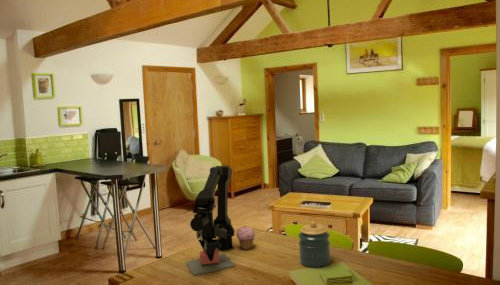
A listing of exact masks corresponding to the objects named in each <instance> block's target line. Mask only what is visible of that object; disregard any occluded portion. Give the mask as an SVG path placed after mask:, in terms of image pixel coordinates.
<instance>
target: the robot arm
mask: <svg viewBox="0 0 500 285" xmlns="http://www.w3.org/2000/svg"><path fill="white" fill-rule="evenodd" d="M232 174H233V168H232V167H230V165H216V166H212V167H210V168H209V174H208V177H207V179H206V182H205V184H204V187H203V189H202V190H200V191H199V192H198V193H197V196H196V197H195V200H194V205H193V208H192V209H193V210H192V213H193V214H194V215H193V218H192V219H191V221H190V223H189V225H190V229H192V230H193V231H194V232H196V234H195V235H196V238H197V240H198V243H199V244H200V246H201V248H202V251H206V254H207V256H208V258H209V260H210V261H213V256H214V252H215V249H218V250H220V251H222V252H223V251H227V250H228V251H229V250H231V249H235V248H234V245H233V237H235V229H234V227H233V224H232V221H231V219H230V217H229V215H228V199H229V197H228V190H229V189H228V188H229V187H228V185H229V183H230V181H231V179H232ZM216 189H217V215H216V217H215V218H214V214H213V211H214V207H215V205H216V204H215V203H216V197H215V191H216Z"/></svg>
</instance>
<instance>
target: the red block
mask: <svg viewBox="0 0 500 285" xmlns="http://www.w3.org/2000/svg"><path fill="white" fill-rule="evenodd" d="M219 255H220V252H219V248H218V249H215V252H214V256H213V261H210V260H209V258H208V256H207V254H206V251H204V250H202V251H199V259H200V262H201V265H203V264H211V263H218V262H220V260H219Z"/></svg>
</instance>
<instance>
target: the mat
mask: <svg viewBox="0 0 500 285" xmlns="http://www.w3.org/2000/svg"><path fill="white" fill-rule="evenodd" d="M219 260H220V262H218V263H211V264H203V265H201V262H200V258H198V259H193V260H188V261H185V265H186V266H187V268H188V269H189V271H190V273H191V275H192V276H193V277H195V276H200V275H204V274H208V273H213V272H218V271H223V270H226V269H231V268H235V267H236V264H235V263H234V262H233V261H232V260H231V259H230V258H229V256H227V253H226V254H225V253H221V254H219Z"/></svg>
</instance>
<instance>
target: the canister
mask: <svg viewBox="0 0 500 285" xmlns="http://www.w3.org/2000/svg"><path fill="white" fill-rule="evenodd" d="M299 231H300V232H299V233H298V235H297V236H298V237H299V241H298V245H299V262H300V264H301V265H303V266H305V267H309V268H320V267H319V266H323V267H326V266H328V265H329V264H330V263H331V258H332V256H331V248H330V247H331V245H330V244H331V242H330V240H329V239H330V233H329V232H328V228H327V227H326V226H324V225H323V224H320V223H317V222H316V221H315V220H314V221H313V220H312V221H311V222H310V223H308V224H304V226H302V227H301V228H300V230H299ZM325 265H326V266H325Z"/></svg>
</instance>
